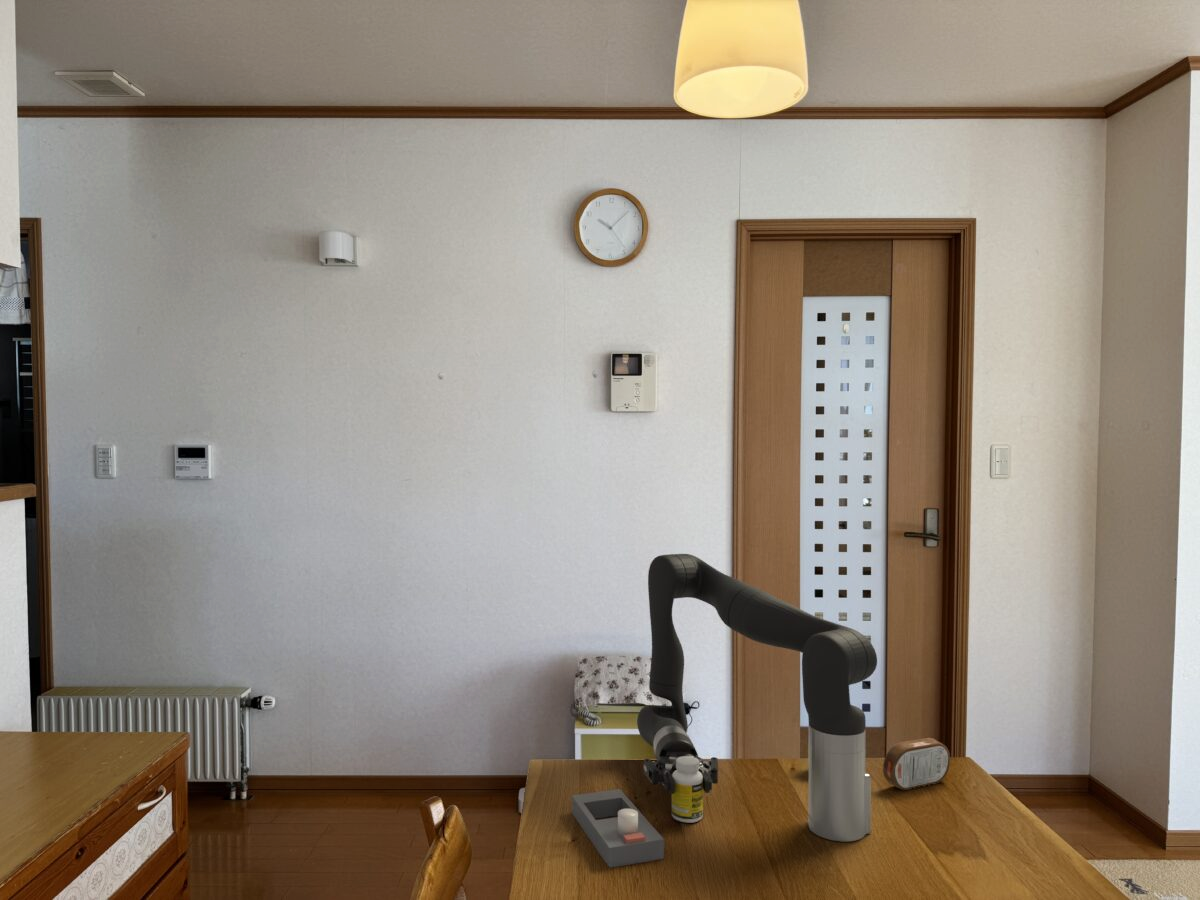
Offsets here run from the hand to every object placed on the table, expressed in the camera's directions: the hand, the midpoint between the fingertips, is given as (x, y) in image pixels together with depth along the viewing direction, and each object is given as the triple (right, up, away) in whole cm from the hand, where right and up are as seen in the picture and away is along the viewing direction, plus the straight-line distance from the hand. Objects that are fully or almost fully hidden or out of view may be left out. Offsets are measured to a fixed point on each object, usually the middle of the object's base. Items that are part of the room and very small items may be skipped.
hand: (690, 787), depth 136 cm
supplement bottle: (0, -6, +2) cm, 7 cm away
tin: (+46, -7, +17) cm, 49 cm away
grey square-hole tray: (-13, -6, -4) cm, 15 cm away
